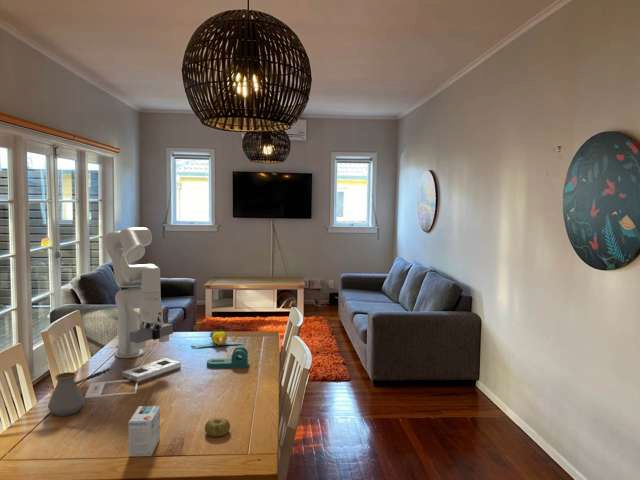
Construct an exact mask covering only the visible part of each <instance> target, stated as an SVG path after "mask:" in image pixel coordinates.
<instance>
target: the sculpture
mask: <svg viewBox="0 0 640 480" xmlns="http://www.w3.org/2000/svg"><path fill="white" fill-rule="evenodd" d="M230 429H231V424H230V422H229V420H228V419H226V418H224V417H214V418H213V417H212V418H211V419H209V420H208V421H207V422H206V423H205V424H204V432H205V433H206V434H207V435H208V436H210V437H213V438H216V437H222V436H225V435H226V434H228V433H229V431H230Z"/></svg>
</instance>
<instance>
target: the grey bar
mask: <svg viewBox="0 0 640 480" xmlns="http://www.w3.org/2000/svg"><path fill="white" fill-rule="evenodd" d="M173 327H174V325H173V324H171V323H167V322H166V323H165V322H164V324H163V325H162V327H161V329H160V338H159V339H158V342H159V343H167V342H170V335H173V334H174V328H173ZM153 330H154V329H153V325H151V327H148V328H144V327H143V328H140V330H136V331H132V332H130V342H134V343H135V348H136V349H142V350H143V349H145V348H146V343H147V342H148V341H151V340H153Z"/></svg>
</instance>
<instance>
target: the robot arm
mask: <svg viewBox="0 0 640 480" xmlns="http://www.w3.org/2000/svg"><path fill="white" fill-rule="evenodd" d="M152 242H153V234H152V231H151V230H150V229H149V228H147V227H125V228H123V229H121V230H115V231H110V232H108V233H106V235H105V237H104V244H105V249H106V252H107V254H108V255H109V258H110V260H111V263H112V267H113V275H114V279H115V283H116V286H117V287H119V288H122V289H121V290H118V291H117V292H116V294H115V296H114V297H115V298H114V300H115V305H116V306H115V307H116V311H117V312H116V313H117V335H118V336H117V337H118V343H117V344H115V348H116V349H117V351H116V352H115V353H114V355H115V357H116V358H118V359H133V358H138V357H140V356H142V355H143V354H144V350H143V348H142V349H136V348H135V343H134V342H130V332H132V331H136V330H140V329H141V328H140V324H142V325H143V329H144V328H148V327H152V326H153V329H154V330H153V339H152V340H153V341H156V340H159V338H160V329H161V327H162V325H163V324H165V322H164V313H163V312H164V311H163V310H164V309H163V303H162V298H161V295H162V294H161V292H162V291H161V268H160V267H159V266H158V265H156V264H154V263H144V264H141V263H140V264H133V263H134V262H136V261H138V260H141V258H143V256H144V255H145V252H146V249H145V247H147V246H149V245H151V243H152ZM123 288H124V289H123ZM135 309H139V314H138V313H137V312H136V311H135ZM140 322H141V323H140Z"/></svg>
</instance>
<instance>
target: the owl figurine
mask: <svg viewBox="0 0 640 480" xmlns="http://www.w3.org/2000/svg"><path fill="white" fill-rule="evenodd" d="M209 337H210V339H211V342H212V343H208V344H207V343H205V344H198V345H196V344H195V345H194V344H193V345H191V350H194V349H199V348H202V349H203V348H207V347H214V346H215V347H216V346H228V345H229V346H231V345H233V346H234V345H235V346H236V345H240V346H242V345H244V346H245V345H248V343H247V342H246V341H242V342H243V343H240V342H241V341H240V342H239V341H238V342H239V343H231V342H227V341H228V335H227V333H226V331H225V330H224V329H220V328H218V329H215V330H213V331H212V332H210V334H209ZM244 343H245V344H244Z"/></svg>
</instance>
